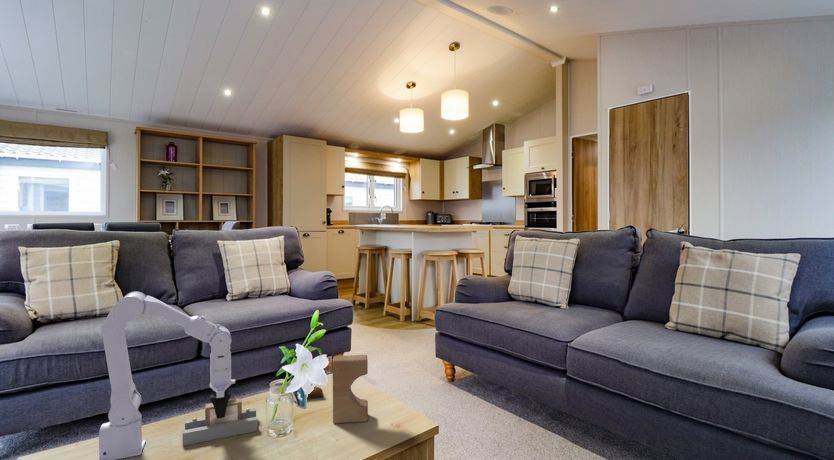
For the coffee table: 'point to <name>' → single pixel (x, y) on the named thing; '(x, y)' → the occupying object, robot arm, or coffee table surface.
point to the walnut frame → (231, 414)
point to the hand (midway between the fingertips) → (221, 412)
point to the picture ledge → (218, 428)
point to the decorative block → (348, 389)
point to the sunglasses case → (316, 393)
